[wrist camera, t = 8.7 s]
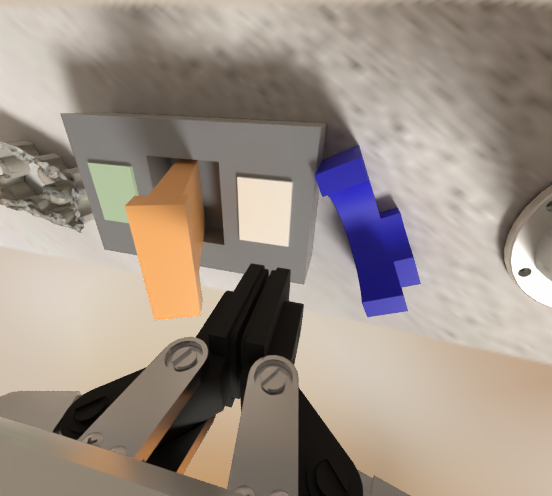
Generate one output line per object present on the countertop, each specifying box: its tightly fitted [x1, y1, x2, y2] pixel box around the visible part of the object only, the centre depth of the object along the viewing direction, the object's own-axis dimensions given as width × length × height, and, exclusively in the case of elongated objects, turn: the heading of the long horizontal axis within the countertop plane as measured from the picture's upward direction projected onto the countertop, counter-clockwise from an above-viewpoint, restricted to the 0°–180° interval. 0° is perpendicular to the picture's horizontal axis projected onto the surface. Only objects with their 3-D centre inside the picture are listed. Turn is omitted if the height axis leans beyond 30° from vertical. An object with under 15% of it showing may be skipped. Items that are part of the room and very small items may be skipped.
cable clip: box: [314, 145, 421, 317], centre depth 20 cm, size 12×4×6 cm, turn 25°
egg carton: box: [0, 140, 95, 233], centre depth 28 cm, size 11×8×4 cm
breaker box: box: [61, 113, 327, 284], centre depth 23 cm, size 20×12×5 cm, turn 89°
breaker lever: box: [125, 158, 206, 320], centre depth 18 cm, size 2×6×12 cm, turn 178°
